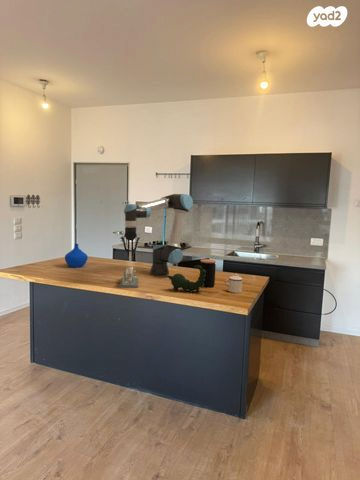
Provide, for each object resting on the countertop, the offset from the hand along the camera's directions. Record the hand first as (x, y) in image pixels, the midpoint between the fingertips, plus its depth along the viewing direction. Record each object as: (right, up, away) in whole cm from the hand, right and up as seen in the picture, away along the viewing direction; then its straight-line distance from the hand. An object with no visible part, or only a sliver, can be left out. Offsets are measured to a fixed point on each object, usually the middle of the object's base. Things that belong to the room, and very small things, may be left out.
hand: (130, 261), depth 228 cm
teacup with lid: (+70, -20, -7) cm, 73 cm away
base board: (-1, -16, +1) cm, 16 cm away
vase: (-53, -8, +52) cm, 75 cm away
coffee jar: (+53, -18, +4) cm, 56 cm away
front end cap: (0, -15, -7) cm, 17 cm away
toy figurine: (+38, -19, -12) cm, 44 cm away
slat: (-1, -12, +1) cm, 12 cm away
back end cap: (-2, -13, +10) cm, 17 cm away
